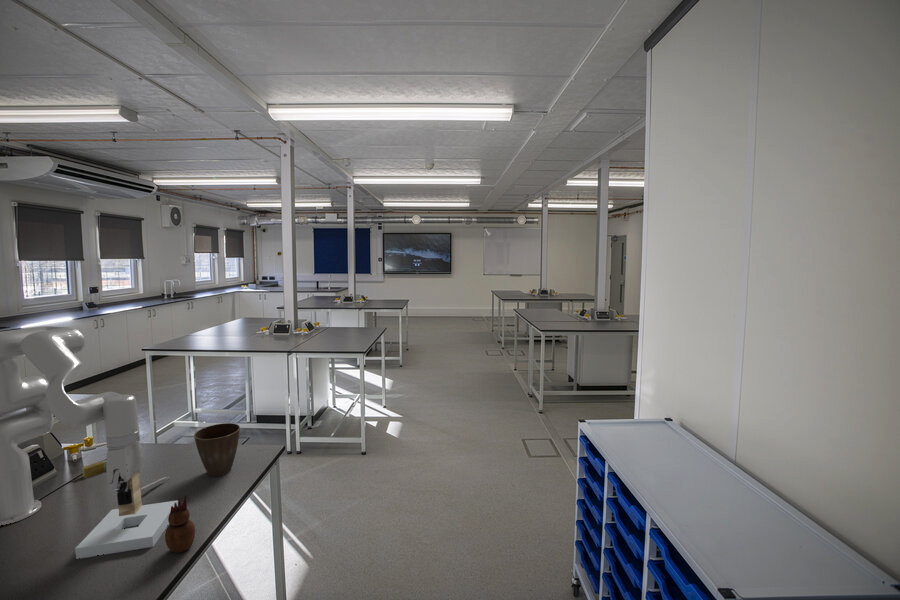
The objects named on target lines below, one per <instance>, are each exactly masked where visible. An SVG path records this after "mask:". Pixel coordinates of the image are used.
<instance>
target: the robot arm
mask: <svg viewBox="0 0 900 600" xmlns="http://www.w3.org/2000/svg"><path fill="white" fill-rule="evenodd" d="M85 347H86V338H85V336H84V334H83V333H82V332H81V331H80V330H78V329H77V328H75V327H70V326H53V325H52V326H51V325H50V326H49V325H48V326H47V325H46V326H34V327H28V328H20V329H19V328H18V329H11V330H5V331H4V330H3V331H0V415H4V416H0V527H2V526H1V525H3V526H7V525H10V523H11V524H13V523H16V522H19V521H22V520H24V519H26V518H28V517H30V516H32V515H34V514H36V513H37V512H38V511H39V510H41V508H42V502H41V501H40V500H37V499H35V498H34V490H33V489H34V488H33V482H32V472H31V463H30V457H29V454H28V453H27V451H25V450H24V449H22V448H20V447H18V445H20V444H23V443H24V442H27V441H30V440H33V439H36V438H39V437H41V436H44V435H46V434H48V433H49V432H50V431H51V430H52V428H53V426H54V421H55V420H54V417H55V419H57V421H59V423H61V424H62V425H63V426H64V427H66V428H69V429H72V430H73V429H74V430H76V429H78V430H79V429H81V428H85V427H87V426H90V425H93V424H96V423H98V422H101V421H103V422H104V432H105V443H106V449H107V450H106V459H105V460H106V468H107V472H106V481H107V484H108V485H111V484H112V485H111V490H112V491H115V493H116V498H117V497H118V500H117V506H118V505H125V504H131V503H132V495H131V489H130V490H129V479H130V478H132V476H133V475H134V474H135V473H136V472H137V471H138V470H139V471H140V470H141V468H142V466H143V456H142V449H141V445H140V444H141V443H140V441H141V434H140V424H139V414H138V403H137V398H136V397H135V395H133V394H121V393H118V392H115V391H105V392H101V393H98V394H96V395H91V396H88V397H85V398H81V399H78V400H75V401H74V400H73V399H72V398H71V397H70V396H69V394H67V392H66V391H65V387H66V386H67V385H69V384H70V383H72V382H73V381H74V380H76V379H77V378H78V377H79V376H80V375H81V374H82V373H83V371H84V369H85V366H84V363H83V362H82V361H81V360H80V359H79V358H78V356H76V354H78V353H80V352H81V351H83V350H84V349H85ZM24 357H25V358H26V359H28V361H29V362H30V363H31V364H32V365H33V366H34V367H35V368H36V369H37V370H38V372H39V373H41V374H42V376H39V375H31V376H26V377H22V378H21V367H20V364H18V363H17V362H16V360H14V359H18V358H24ZM44 377H45V378H44ZM23 409H25V410H23ZM20 410H22V411H20ZM17 411H19V412H17ZM13 412H15V413H13ZM9 413H11V414H9ZM5 414H7V415H5ZM120 479H124V480H120ZM120 483H125V486H124V485H120ZM6 524H7V525H6Z"/></svg>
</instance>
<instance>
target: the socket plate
mask: <svg viewBox="0 0 900 600" xmlns="http://www.w3.org/2000/svg"><path fill="white" fill-rule="evenodd" d="M175 502H176V504H177V507H178V499H177V500H170V501H164V502H163V501H162V502H157V503H150V504H144V505H143V504H142V507H141V508H140V509H139V510H138V511H137V513H136V514H132V515H125V516H119V509H118V508H114V509H111V510H110V511H109V512H108V513H107V514H106V515H105V517H103V518H102V519H101V520H100V522H99V523H98V524H97V525H96V526H95V527H94V528H93V529H92V530H91V531H90V532H89V533H88V534H87V535H86V537H85V538H83V540H82V541H81V542H80V543H79V544H78V545H77V546H76V547H75V548H74V550H75V559H76V560H79V558H80V559H85V558H91V557H97V555H99V556H103V554H104V555H110V554H115V553H117V554H118V553H123V552H128V551H134V550H142V549H147V548H153V547H154V546H155V545H156V543H157V542H158V541H159V540H160V538H161V536H162V534H163V533H164V531H166V530H167V527H168V526H169V525H170V524H169V522H168V517H169V514H170V511H171V506H173V507H174V503H175ZM137 525H138V526H137ZM167 525H168V526H167ZM131 526H132V527H131ZM124 528H125V529H124Z"/></svg>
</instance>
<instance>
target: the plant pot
mask: <svg viewBox="0 0 900 600" xmlns="http://www.w3.org/2000/svg"><path fill="white" fill-rule="evenodd" d="M240 429H241V426H240V425H239V424H237V423H233V422H227V423H224V422H223V423H217V424H213V425H209V426H205V427H203V428H200V429H199V430H197V431H196V432H195V433H194V436H193V437H194V441H195V442H194V443H195V445H196V449H197V453H198V455H199V457H200V460H201V463H202V465H203V467H204V469H205V471H206V473H207V475H208V476H209V477H214V476H215V477H220V476H219V475H221V476H224V475H227V474H228V473H230V471H232V467H233V464H234V462H235V459H236V458H235V457H236V454H237V451H238V450H237V449H238V446H239V445H238V444H239V439H240ZM223 474H224V475H223Z"/></svg>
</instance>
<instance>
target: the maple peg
mask: <svg viewBox="0 0 900 600" xmlns="http://www.w3.org/2000/svg"><path fill="white" fill-rule="evenodd" d="M120 480H124V479H120ZM140 481H141V480H140V470H138V471H137V472H136V473H135V474H134V475H133V476H132V478H130V479H129V490H130V489H131V495H132V503H131V504H125V505H118V504H117V509H119V516H125V515H132V514H136V513H137V511H138V510H139V509H140V508H141V507H142V505H143V503H142V493H141V491H140V488H141V484H140V483H141V482H140ZM120 485H124V486H125V483H120ZM116 498H117V499H116V500H117V501H118V497H117V496H116Z"/></svg>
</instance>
